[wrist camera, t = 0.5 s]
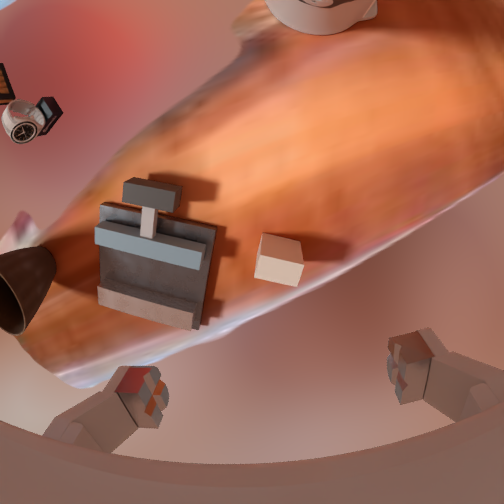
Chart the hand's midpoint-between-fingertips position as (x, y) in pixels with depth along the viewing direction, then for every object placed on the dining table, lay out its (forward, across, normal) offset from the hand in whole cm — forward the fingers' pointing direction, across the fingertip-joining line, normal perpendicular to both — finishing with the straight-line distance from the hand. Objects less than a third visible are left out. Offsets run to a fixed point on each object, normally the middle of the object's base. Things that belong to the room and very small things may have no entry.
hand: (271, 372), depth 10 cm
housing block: (+38, +1, +7) cm, 39 cm away
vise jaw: (+36, +18, -1) cm, 40 cm away
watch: (+36, +35, -24) cm, 55 cm away
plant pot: (+39, +49, +2) cm, 62 cm away
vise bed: (+39, +22, +8) cm, 45 cm away
